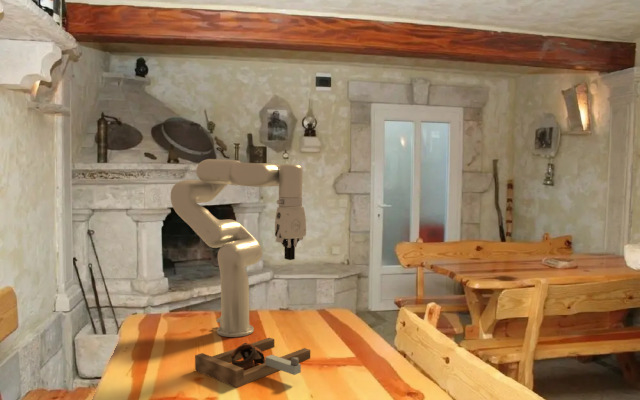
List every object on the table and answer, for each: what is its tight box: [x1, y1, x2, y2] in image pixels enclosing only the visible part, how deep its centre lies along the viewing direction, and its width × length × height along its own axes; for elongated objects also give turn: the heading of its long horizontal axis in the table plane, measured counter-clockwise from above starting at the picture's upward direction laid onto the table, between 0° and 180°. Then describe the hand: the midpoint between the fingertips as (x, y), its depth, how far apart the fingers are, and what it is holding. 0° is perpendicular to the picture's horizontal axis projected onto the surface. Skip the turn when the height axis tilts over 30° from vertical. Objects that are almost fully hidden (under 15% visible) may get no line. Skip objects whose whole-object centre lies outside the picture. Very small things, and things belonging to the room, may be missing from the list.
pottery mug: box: [230, 342, 265, 370], centre depth 150 cm, size 12×10×8 cm
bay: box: [194, 337, 311, 388], centre depth 153 cm, size 18×28×4 cm, turn 139°
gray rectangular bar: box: [264, 354, 302, 376], centre depth 142 cm, size 11×2×4 cm, turn 49°
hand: (289, 259), depth 171 cm, fingers closed
